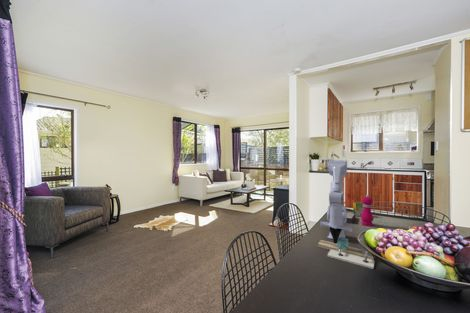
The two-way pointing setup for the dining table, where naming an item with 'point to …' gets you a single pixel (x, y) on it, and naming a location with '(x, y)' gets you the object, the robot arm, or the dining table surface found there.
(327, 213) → the robot arm
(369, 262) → the bolt plate
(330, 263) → the dining table surface
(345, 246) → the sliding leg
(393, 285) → the dining table surface
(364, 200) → the pepper mill
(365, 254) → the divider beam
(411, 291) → the dining table surface
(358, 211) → the crayon box
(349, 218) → the calculator
